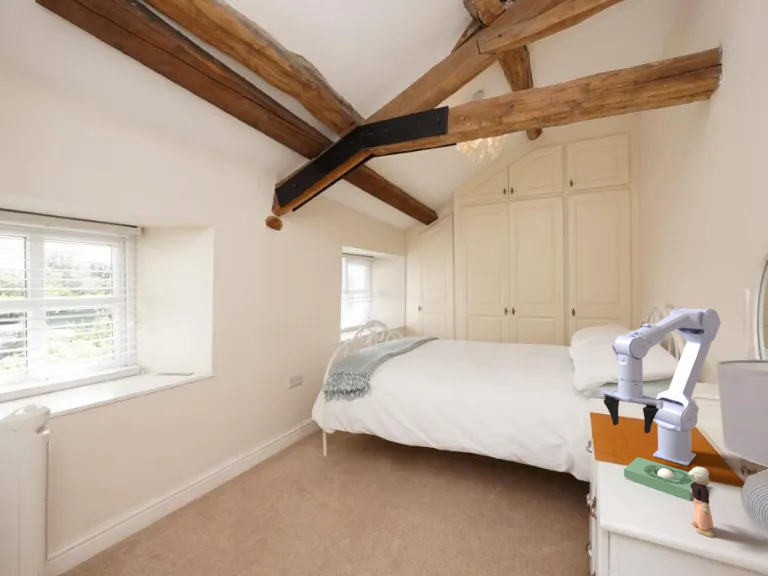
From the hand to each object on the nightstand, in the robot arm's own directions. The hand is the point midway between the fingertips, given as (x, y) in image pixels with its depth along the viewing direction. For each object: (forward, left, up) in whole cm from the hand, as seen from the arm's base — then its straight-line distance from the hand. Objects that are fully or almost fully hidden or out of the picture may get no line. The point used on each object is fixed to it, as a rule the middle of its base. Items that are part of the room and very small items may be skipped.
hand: (631, 428), depth 103 cm
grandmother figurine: (+19, +19, -11) cm, 29 cm away
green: (+4, +7, -10) cm, 13 cm away
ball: (+4, +9, -9) cm, 13 cm away
